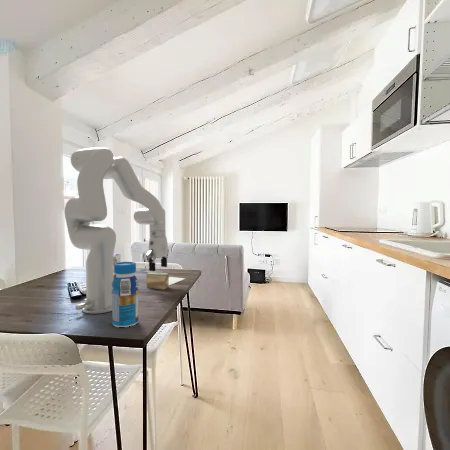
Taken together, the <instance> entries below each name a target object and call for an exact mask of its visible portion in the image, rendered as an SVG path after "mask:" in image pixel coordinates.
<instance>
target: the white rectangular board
mask: <svg viewBox="0 0 450 450" xmlns="http://www.w3.org/2000/svg"><path fill="white" fill-rule="evenodd" d="M184 280H186V278H185V277H184V278H183V277H175V276H169V287H170V286H172V285H175V284H176V283H177V284H178V283H179V282H182V281H184Z"/></svg>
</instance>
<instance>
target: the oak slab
mask: <svg viewBox="0 0 450 450" xmlns="http://www.w3.org/2000/svg"><path fill="white" fill-rule="evenodd" d="M169 277H170V276H169V273H167V272H157V271H149V272H146V288H147V289H158V290H166V289H169V287H170V286H169Z"/></svg>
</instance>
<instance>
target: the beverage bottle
mask: <svg viewBox="0 0 450 450" xmlns="http://www.w3.org/2000/svg"><path fill="white" fill-rule="evenodd" d="M136 272H137V264H136V262H134V261H120V262H118V263H115V264H114V273H115V274H116V277H115V278H114V280H113V282H112V287H113V290H112V311H111V313H112V323H111V325H113V326H114V327H115V328H119V327H125V328H130V327H133V326H136V325H137V324H138V323H139V295H140V291H139V290H140V289H139V287H138V285H139V279H138V278H137V276H136V275H135V274H136ZM129 326H130V327H129Z"/></svg>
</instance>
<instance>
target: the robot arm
mask: <svg viewBox="0 0 450 450" xmlns="http://www.w3.org/2000/svg"><path fill="white" fill-rule="evenodd" d="M70 164H71V166H72V167H73V168H74V170H75V171H76V172H78V175H77V179H76V180H77V182H76V183H77V184H76V186H77V192H78V193H77V194H78V196H74V197H71V198H70V199H68V200H67V202H66V203H65V206H64V218H65V222H66V227H67V228H66V229H67V232H68V237H69V240H70V242H71V244H72V245H73V246H74V247H75V248H76V249H79V250H87V251H88V250H89V253H88V256H87V258H86V261H85V279H86V281H85V282H86V285H85V286H86V298H84V299H83V301H84V302H82V303H79V304H76V305H75V307H74V308H75V310H76V311H81V312H83V313H85V314H92V315H93V314H94V315H95V314H96V315H97V314H104V313H109V312H112V290H113V287H112V282H113V280H114V270H113V257H114V254H115V247H116V243H117V234H116V232H115V230H114V229H113V228H112V227H111V226H108V225H105V224H91V223H100V222H103V221H104V220H105V219H106V218H107V216H108V207H107V201H106V200H107V199H106V195H105V190H104V180H110V179H111V180H112V179H113V180H114V181H115V183H116V185H117V186H118V188H119V190H120V192H121V193H122V195H123V197H124V198H126V199H128V200H130V201H133V202H135V203H138V204H140V205H142V206H144V207H142V208H138V209H136V210H135V211H134V213H133V220H134V221H135V222H136V224H138V225H147V226H148V225H149V238H148V239H149V240H148V251H147V253H146V254H145V257H146V260H147V262H148V270H149V272H156V262H155V261H156V259H160V267H162V268H167V267H168V256H169V251H170V249H169V248H168V247H169V246H168V238H167V235H166V210H165V209H164V208H163V207H162V204H161V202H160V201H159V199H158V198H157V197H156V196H155V195H153V193H151V192H150V191H148V190H147V189H145V187H143V186H142V184H141V182H140V181H139V179H138V176H137V174H136V173H135V171H134V168H133V167H132V165H131V163H130V162H129V160H128V159H127V158H125V157H122V156H117V157H115V156H114V153H113V151H112V150H111V149H109V148H107V147H102V146H101V147H90V148H82V149H77V150H76V151H73V153H72V154H71V156H70Z"/></svg>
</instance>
